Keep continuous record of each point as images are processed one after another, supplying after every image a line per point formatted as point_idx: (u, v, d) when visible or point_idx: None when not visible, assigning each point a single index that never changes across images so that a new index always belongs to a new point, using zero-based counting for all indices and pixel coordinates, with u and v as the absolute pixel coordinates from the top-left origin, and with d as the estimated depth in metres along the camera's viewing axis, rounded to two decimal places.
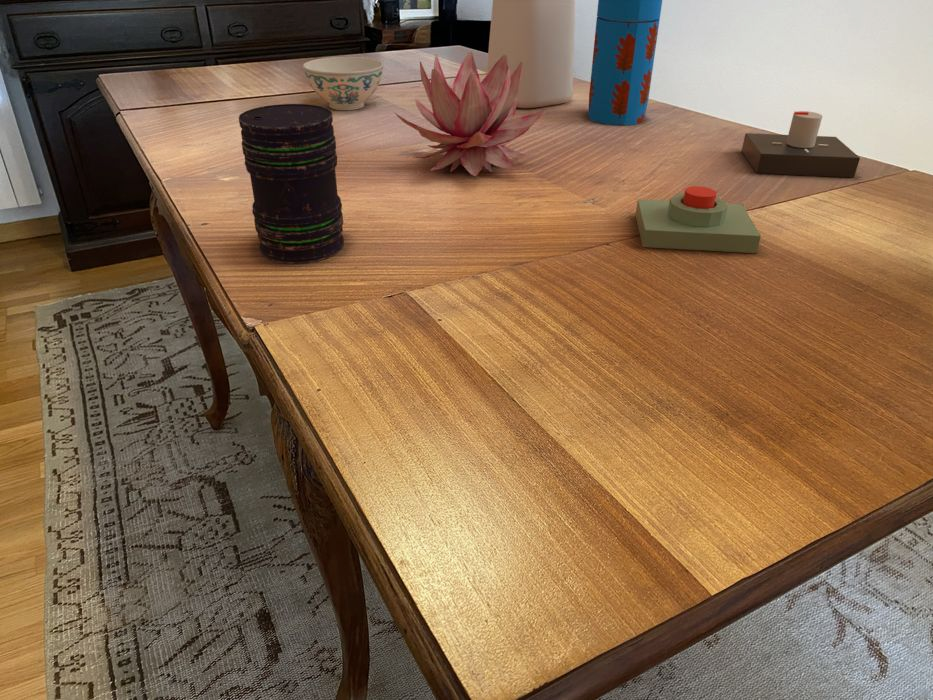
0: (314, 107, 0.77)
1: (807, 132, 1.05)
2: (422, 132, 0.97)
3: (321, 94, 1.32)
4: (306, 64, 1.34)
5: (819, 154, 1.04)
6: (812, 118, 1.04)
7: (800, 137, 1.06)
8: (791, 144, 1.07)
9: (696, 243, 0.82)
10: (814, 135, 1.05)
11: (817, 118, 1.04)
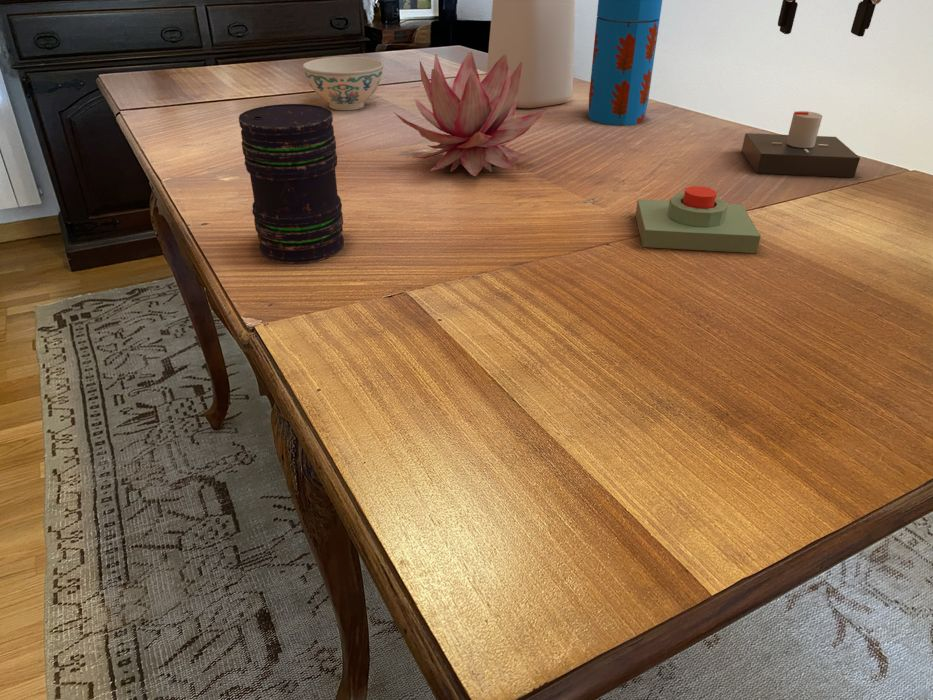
0: (314, 107, 0.77)
1: (807, 132, 1.05)
2: (422, 132, 0.97)
3: (321, 94, 1.32)
4: (306, 64, 1.34)
5: (819, 154, 1.04)
6: (812, 118, 1.04)
7: (800, 137, 1.06)
8: (791, 144, 1.07)
9: (696, 243, 0.82)
10: (814, 135, 1.05)
11: (817, 118, 1.04)
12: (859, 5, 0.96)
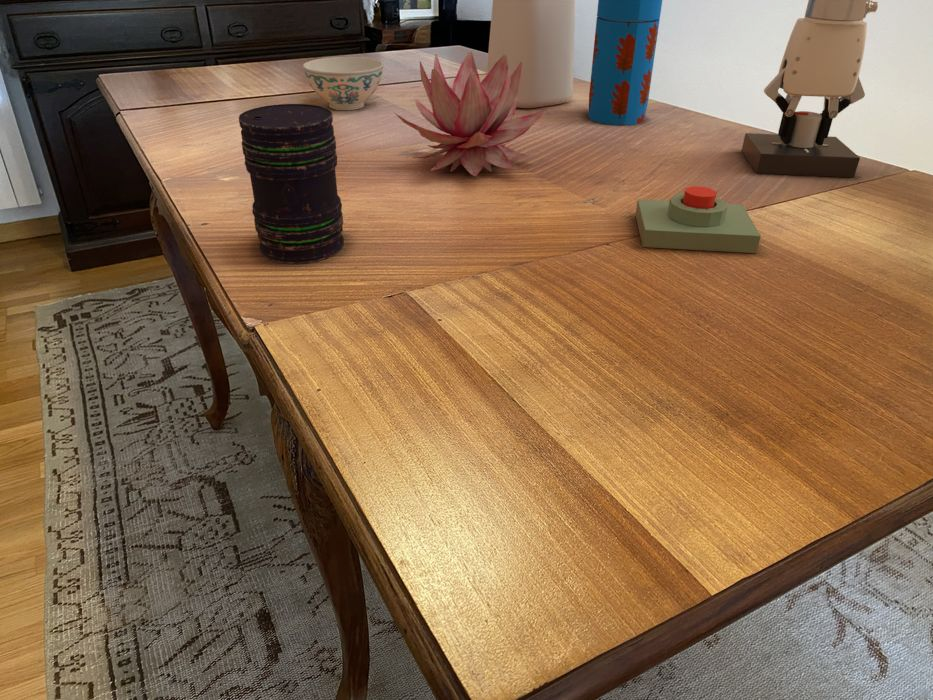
0: (314, 107, 0.77)
1: (807, 132, 1.05)
2: (422, 132, 0.97)
3: (321, 94, 1.32)
4: (306, 64, 1.34)
5: (819, 154, 1.04)
6: (812, 118, 1.04)
7: (800, 137, 1.06)
8: (791, 144, 1.07)
9: (696, 243, 0.82)
10: (814, 135, 1.05)
11: (817, 118, 1.04)
12: None
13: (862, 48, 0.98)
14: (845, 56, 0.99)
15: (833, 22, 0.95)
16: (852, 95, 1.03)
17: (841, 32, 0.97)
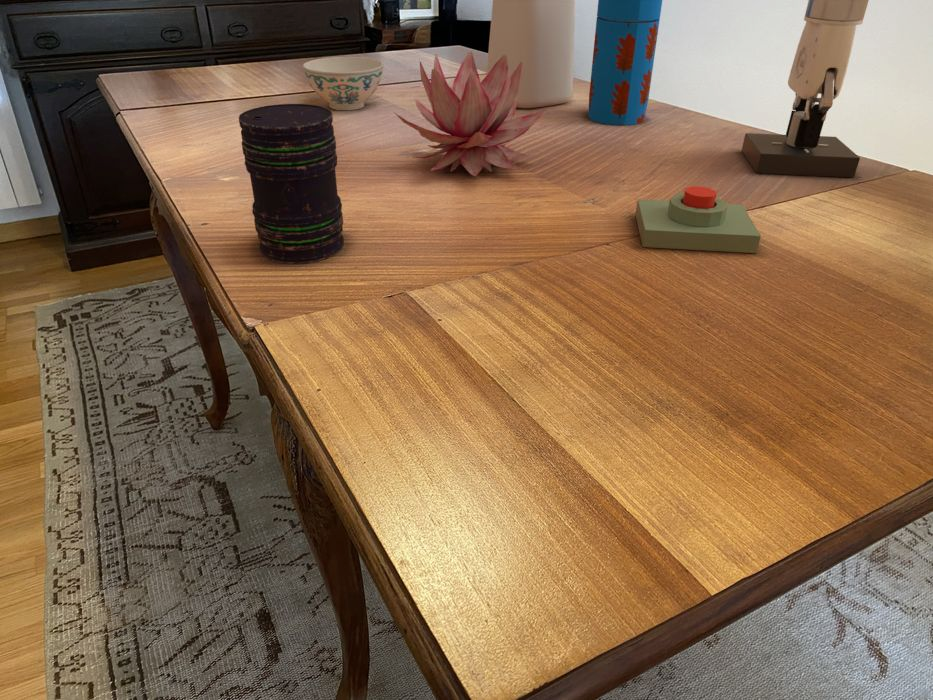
0: (314, 107, 0.77)
1: None
2: (422, 132, 0.97)
3: (321, 94, 1.32)
4: (306, 64, 1.34)
5: (819, 154, 1.04)
6: None
7: None
8: None
9: (696, 243, 0.82)
10: None
11: None
12: None
13: None
14: None
15: (862, 20, 0.97)
16: None
17: None
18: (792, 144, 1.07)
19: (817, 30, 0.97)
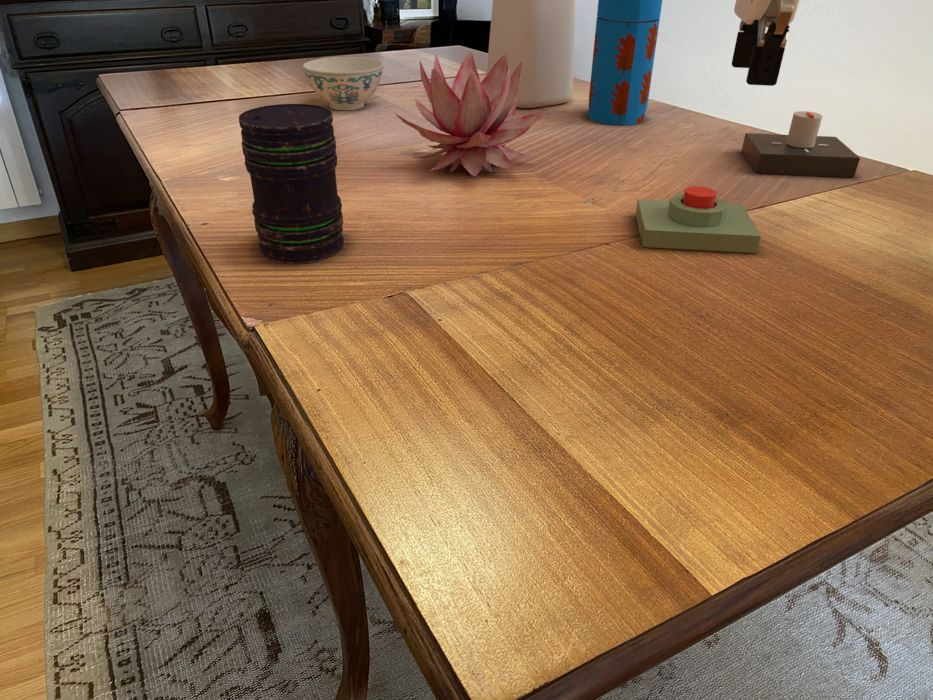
0: (314, 107, 0.77)
1: None
2: (422, 132, 0.97)
3: (321, 94, 1.32)
4: (306, 64, 1.34)
5: (819, 154, 1.04)
6: (821, 115, 1.05)
7: (816, 136, 1.06)
8: (811, 146, 1.06)
9: (696, 243, 0.82)
10: None
11: (818, 114, 1.06)
12: (743, 36, 0.85)
13: None
14: None
15: None
16: None
17: None
18: (792, 144, 1.07)
19: None
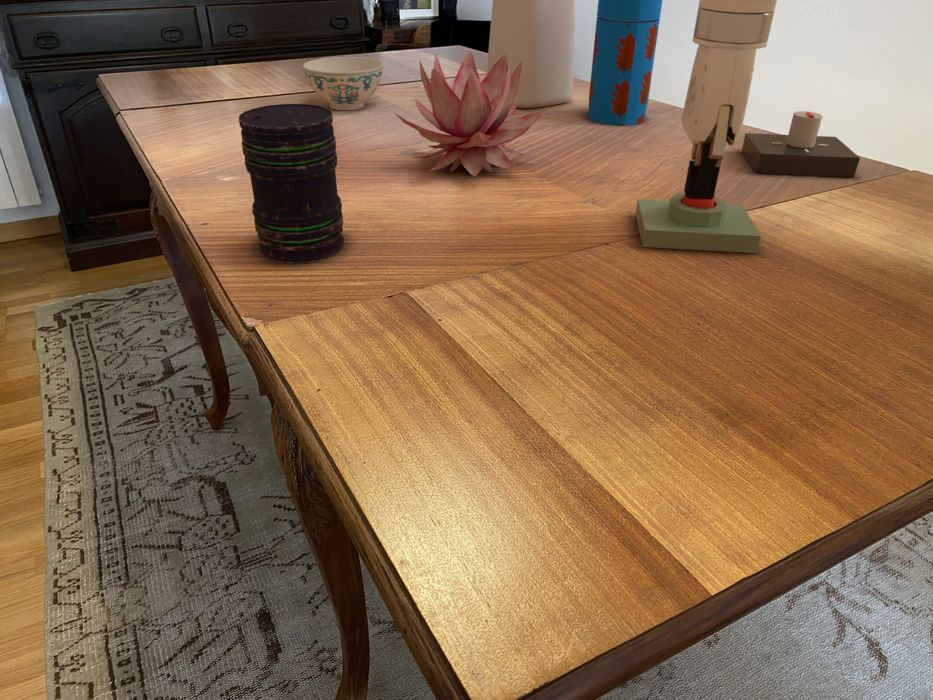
0: (314, 107, 0.77)
1: None
2: (422, 132, 0.97)
3: (321, 94, 1.32)
4: (306, 64, 1.34)
5: (819, 154, 1.04)
6: (821, 115, 1.05)
7: (816, 136, 1.06)
8: (811, 146, 1.06)
9: (696, 243, 0.82)
10: None
11: (818, 114, 1.06)
12: None
13: None
14: None
15: (766, 42, 0.73)
16: None
17: None
18: (792, 144, 1.07)
19: (707, 55, 0.73)
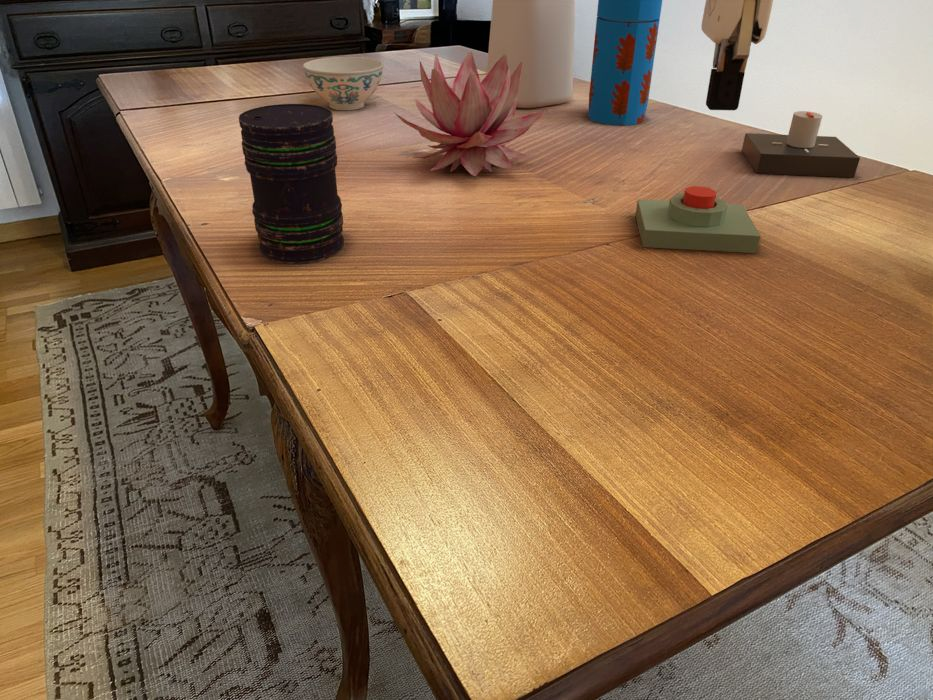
0: (314, 107, 0.77)
1: None
2: (422, 132, 0.97)
3: (321, 94, 1.32)
4: (306, 64, 1.34)
5: (819, 154, 1.04)
6: (821, 115, 1.05)
7: (816, 136, 1.06)
8: (811, 146, 1.06)
9: (696, 243, 0.82)
10: None
11: (818, 114, 1.06)
12: None
13: None
14: None
15: None
16: None
17: None
18: (792, 144, 1.07)
19: None
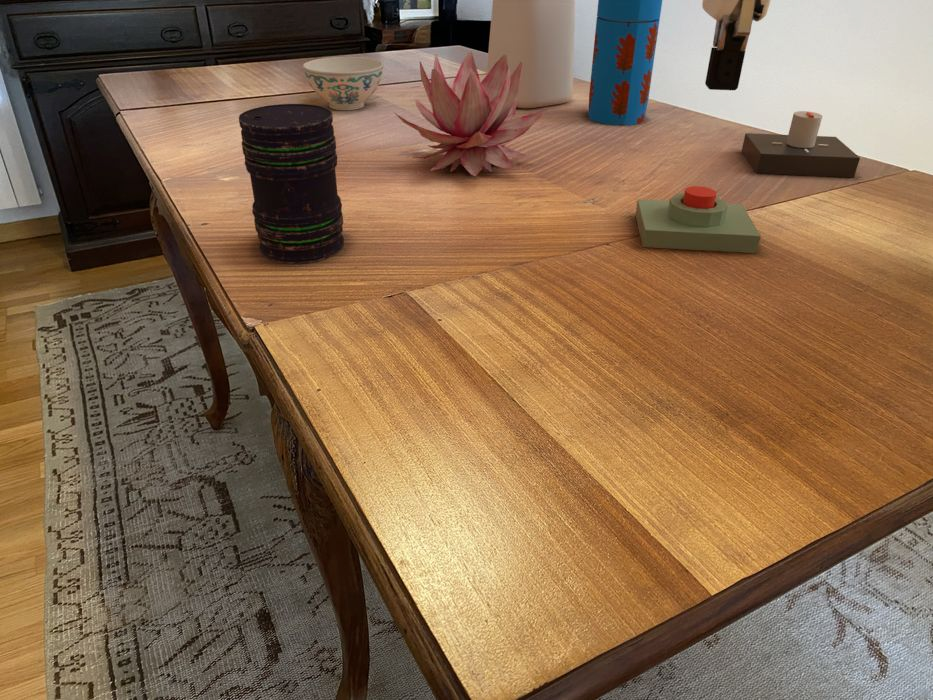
0: (314, 107, 0.77)
1: None
2: (422, 132, 0.97)
3: (321, 94, 1.32)
4: (306, 64, 1.34)
5: (819, 154, 1.04)
6: (821, 115, 1.05)
7: (816, 136, 1.06)
8: (811, 146, 1.06)
9: (696, 243, 0.82)
10: None
11: (818, 114, 1.06)
12: None
13: None
14: None
15: None
16: None
17: None
18: (792, 144, 1.07)
19: None
